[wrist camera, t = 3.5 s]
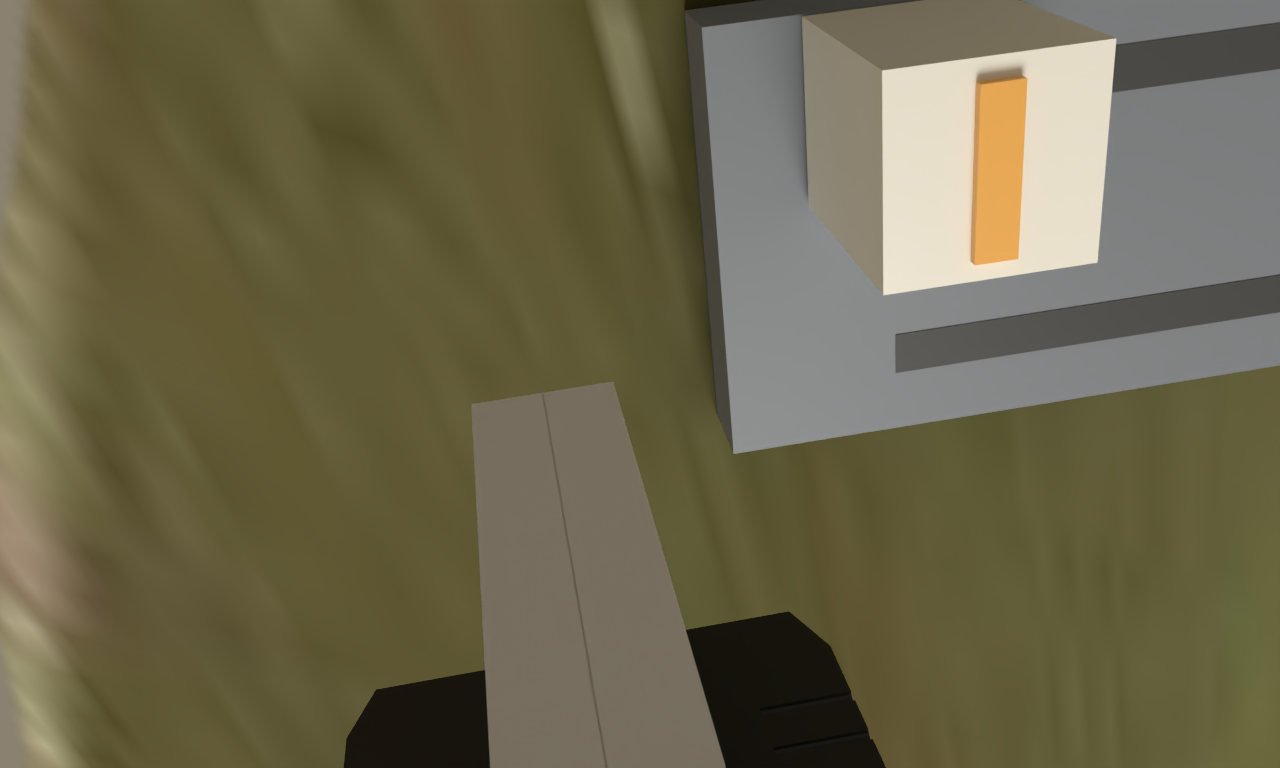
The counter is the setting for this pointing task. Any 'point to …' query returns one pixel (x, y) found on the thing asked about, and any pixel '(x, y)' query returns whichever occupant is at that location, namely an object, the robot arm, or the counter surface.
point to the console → (1008, 306)
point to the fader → (957, 138)
